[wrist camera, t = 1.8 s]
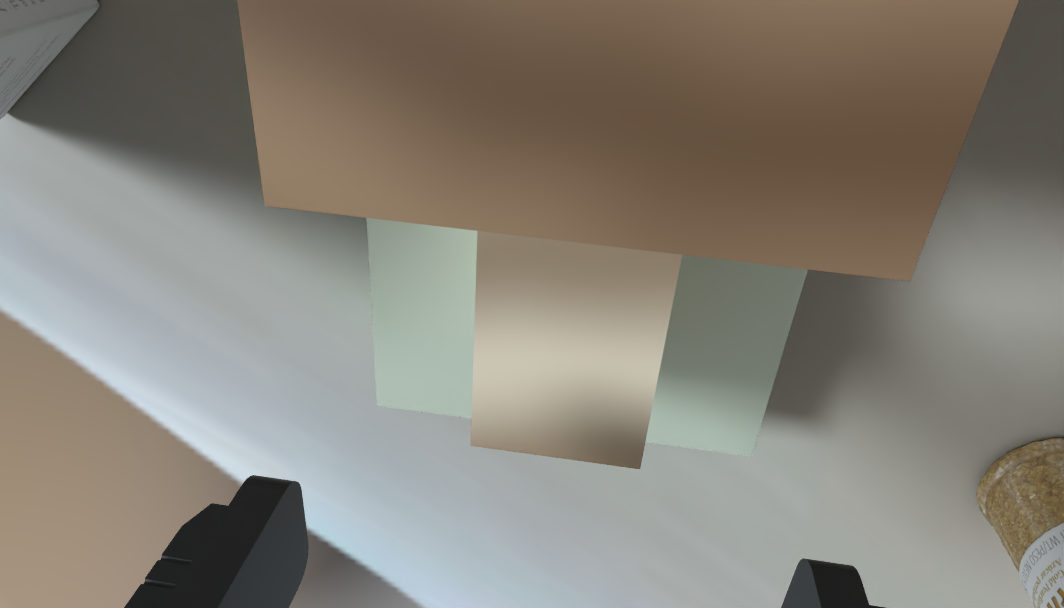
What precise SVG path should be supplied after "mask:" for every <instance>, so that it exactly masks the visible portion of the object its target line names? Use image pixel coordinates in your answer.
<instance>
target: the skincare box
mask: <svg viewBox="0 0 1064 608" xmlns="http://www.w3.org/2000/svg"><path fill="white" fill-rule="evenodd" d="M98 8H99V3H98V1H97V0H0V119H1V118H3V117H4V116H5V114H6V113H7V112H8V111H9V110H10V108H11V107H12V106H13V105H14V104H15V102H16V101H17V100H18V99H19V98H20V97H21V96H22V94H23V93H24V92H25V91H26V90H27V89H28V88H29V87H30V85H31V84H32V83H33V82H34V81H35V80H36V79H37V77H38V76H39V75H40V74H41V73H42V72H43V71H44V70H45V69H46V67H47V66H48V65H49V64H50V63H51V62H52V61H53V59H54V58H55V57H56V56H57V55H58V54H59V53H60V52H61V50H62V49H63V48H64V47H65V46H66V45H67V44H68V43H69V42H70V40H71V39H72V38H73V37H74V36H75V35H76V33H77V32H78V31H79V30H80V29H81V28H82V27H83V25H84V24H85V23H86V22H87V21H88V20H89V19H90V18H91V17H92V16H93V15H94V13H95V12H96V11H97V10H98Z"/></svg>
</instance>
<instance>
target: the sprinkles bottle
mask: <svg viewBox="0 0 1064 608" xmlns="http://www.w3.org/2000/svg"><path fill="white" fill-rule="evenodd" d="M976 496H977V500H978V504H979V507H980V510H981V512H982V514H983V515H984V516H985V518H986V519H987V520H988V521H989V523H990V524H991V525H992V526H993V527H994V529H995V531H996V532H997V534H998V535H999V537H1000V539H1001V541H1002V543H1003V545H1004V547H1005V548H1006V550H1007V552H1008V554H1009V556H1010V557H1011V559H1012V561H1013V563H1014V565H1015V567H1016V568H1017V570H1018V572H1019V575H1020V579H1021V582H1022V585H1023V587H1024V588H1025V590H1026V592H1027V594H1028V596H1029V598H1030V600H1031V601H1032V603H1033V605H1034V607H1035V608H1064V439H1061V438H1050V439H1047V440H1044V441H1036V442H1032V443H1030V444H1028V445H1026V446H1024V447H1019V448H1017V449H1016V450H1013V451H1010V452H1008V453H1007V454H1006V455H1004V456H1003V457H1001V458H999V459H998V460H997V461H995V463H994V464H993V465H991V466H990V467H989V468H988V470H987V473H986V474H985V475H984V476H983V478H982V480H981V481H980V483H979V485H978V492H977V494H976Z"/></svg>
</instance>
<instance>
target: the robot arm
mask: <svg viewBox="0 0 1064 608" xmlns="http://www.w3.org/2000/svg"><path fill="white" fill-rule="evenodd" d="M307 558H308V538H307V530H306V522H305V514H304V506H303V498H302V490H301V486H300V484H299V483H298V482H296V481H289V480H282V479H276V478H269V477H262V476H255V475H253V476H250V477H249V478H247V479H246V480H245V482H244V483H243V484H242V486H241V487H240V489H239V490H238V492H237V494H236V495H235V497H234V498H233V500H232V501H231V503H230V504H229V506H226V505H219V504H210V505H209V506H208V507H206V508H205V509H204V510H203V511H201V512H200V513H199V514H197V515H196V516H195V517H193V518H192V519H191V520H190V521H188V522H187V523H185V524H184V525H183V526H182V527H181V529H180V530H179V531H178V532H177V534H176V535H175V537H174V538H173V540H172V541H171V542H170V544H169V545H168V547H167V548H166V549H165V551H164V552H163V554H162V558H161V560H158V561H157V562H156V564H155V565H154V566H153V568H152V569H151V571H150V572H149V573H148V575H147V576H146V578H145V583H144V584H141V585H140V586H139V588H138V589H137V590H136V592H135V593H134V595H133V596H132V597H131V599H130V600H129V602H128V603H127V604H126V606H125V607H124V608H289V606H290V604H291V602H292V600H293V598H294V596H295V594H296V591H297V590H298V587H299V585H300V583H301V580H302V578H303V575H304V572H305V568H306V563H307ZM781 608H884V607H878V606H871V605H869V603H868V600H867V597H866V594H865V590H864V587H863V584H862V581H861V578H860V575H859V573H858V571H857V570H856V568H855V567H853V566H850V565H844V564H837V563H830V562H823V561H817V560H810V559H802V560H800V562H799V563H798V565H797V568H796V570H795V573H794V576H793V578H792V581H791V583H790V586H789V589H788V591H787V594H786V596H785V599H784V602H783V604H782V607H781Z"/></svg>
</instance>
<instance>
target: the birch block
mask: <svg viewBox="0 0 1064 608" xmlns="http://www.w3.org/2000/svg"><path fill="white" fill-rule="evenodd" d="M681 259H682V255H680V254H671V253H663V252H654V251H646V250H637V249H628V248H620V247H611V246H603V245H594V244H586V243H577V242H569V241H560V240H552V239H543V238H534V237H526V236H517V235H509V234H500V233H492V232H483V231H477V260H476V292H475V323H474V354H473V386H472V417H471V446H477V447H484V448H491V449H498V450H506V451H513V452H520V453H527V454H534V455H542V456H549V457H556V458H563V459H571V460H578V461H585V462H592V463H599V464H607V465H614V466H621V467H628V468H635V469H640V466H641V461H642V456H643V451H644V446H645V441H646V436H647V431H648V426H649V421H650V416H651V411H652V406H653V401H654V396H655V391H656V386H657V380H658V375H659V370H660V365H661V360H662V355H663V350H664V345H665V340H666V335H667V330H668V325H669V320H670V315H671V310H672V305H673V300H674V295H675V290H676V285H677V279H678V274H679V269H680V264H681Z"/></svg>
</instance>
